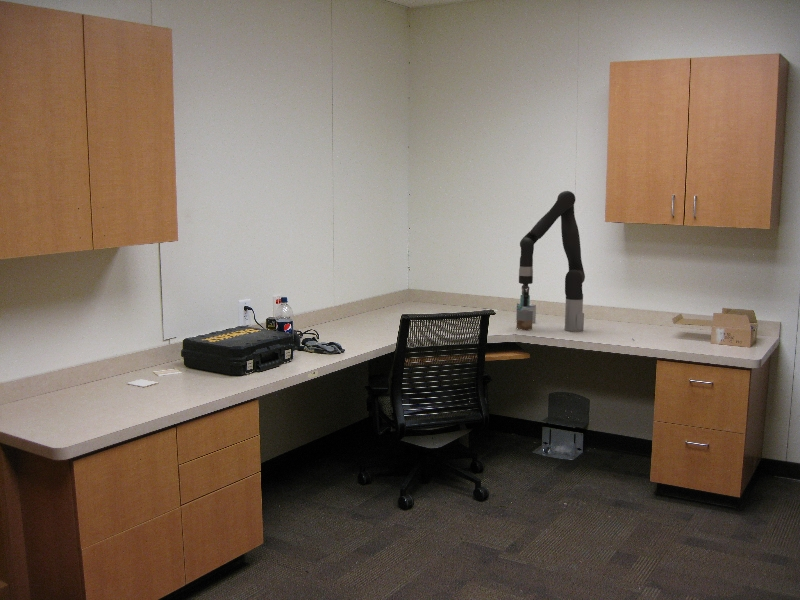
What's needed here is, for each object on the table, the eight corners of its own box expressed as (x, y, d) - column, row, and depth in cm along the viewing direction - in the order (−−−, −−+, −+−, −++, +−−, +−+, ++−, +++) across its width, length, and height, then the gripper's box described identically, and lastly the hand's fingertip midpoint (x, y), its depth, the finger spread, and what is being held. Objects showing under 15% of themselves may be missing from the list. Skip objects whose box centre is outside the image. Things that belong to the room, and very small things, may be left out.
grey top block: (532, 320, 441) (532, 311, 441) (525, 321, 437) (525, 312, 437) (523, 318, 446) (524, 309, 445) (516, 319, 442) (517, 310, 441)
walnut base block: (532, 329, 442) (532, 320, 441) (525, 330, 438) (525, 321, 437) (523, 327, 447) (523, 318, 446) (516, 328, 443) (516, 319, 442)
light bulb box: (515, 321, 467) (516, 302, 465) (525, 320, 469) (526, 301, 468) (526, 324, 457) (526, 305, 455) (536, 323, 460) (536, 304, 458)
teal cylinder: (531, 306, 440) (531, 295, 440) (525, 307, 437) (525, 296, 436) (524, 305, 444) (524, 294, 443) (518, 306, 441) (518, 295, 440)
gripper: (534, 276, 431) (533, 307, 433) (531, 273, 445) (530, 303, 447) (520, 276, 431) (519, 307, 434) (517, 272, 445) (516, 303, 448)
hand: (524, 305), depth 441 cm, fingers closed on teal cylinder, 5 cm apart
